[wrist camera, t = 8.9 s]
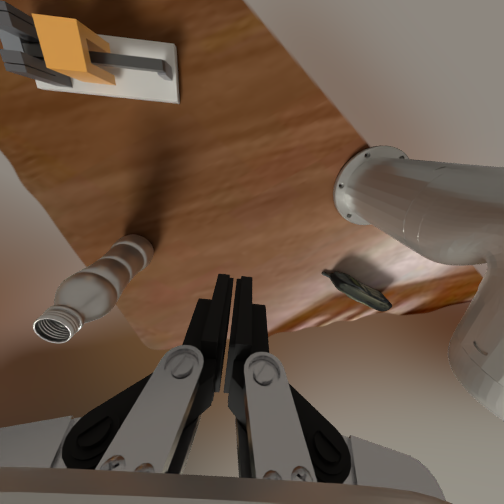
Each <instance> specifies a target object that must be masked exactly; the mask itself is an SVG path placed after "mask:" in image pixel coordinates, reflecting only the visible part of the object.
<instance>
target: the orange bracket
mask: <svg viewBox="0 0 504 504" xmlns="http://www.w3.org/2000/svg"><path fill="white" fill-rule="evenodd" d="M32 17H33V20H34V24H35V27H36V31H37V35H38V38H39V42H40V45H41V49H42V53H43V56H44V60H45V63H46V67H47V68H49V69H51V70H54V71H56V72H59V73H62V74H64V75H67V76H69V77H72V78H74V79H77V80H80V81H82V82H88V83H98V84H107V85H116V82H115V76H114V75H112V74H111V73H109V72H107V71H105V70H103V69H101V68H99V67H97V66H95V65H94V64H92V63H91V61H90V56H89V51H95V52H104V53H111V52H110V46H109V43H108V42H106V41H105V40H104V39H102V38H101V37H100V36H98V35H97V34H95V33H94V32H93V31H91V30H90V29H89V28H87V27H86V26H85V25H83V24H82V23H81V22H79V21H78V20H77V19H72V18H64V17H56V16H48V15H40V14H32Z"/></svg>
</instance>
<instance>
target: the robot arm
mask: <svg viewBox="0 0 504 504" xmlns="http://www.w3.org/2000/svg"><path fill="white" fill-rule="evenodd" d="M365 154H366V156H365ZM339 184H341V185H340V186H339ZM333 197H334V203H335V207H336V209H337V210H338V212H339V213H340V214H341V216H342V217H344V218H345V219H346V220H348V221H350V222H352V223H355V224H358V225H369V224H372V225H373V226H375V227H377V228H378V229H380V230H381V231H383V232H385V233H386V234H388V235H389V236H391V237H392V238H394V239H396V240H397V241H399V242H400V243H402V244H404V245H405V246H407V247H408V248H410V249H411V250H413V251H415V252H417V253H418V254H420V255H421V256H423V257H425V258H427V259H429V260H431V261H434V262H437V263H441V264H446V265H475V264H483V263H487V271H486V273H485V275H484V277H483V279H482V281H481V283H480V285H479V287H478V291H477V293H476V295H475V297H474V298H473V300H472V302H471V304H470V305H469V307H468V309H467V311H466V312H465V314H464V316H463V318H462V319H461V321H460V323H459V324H458V326H457V328H456V330H455V332H454V334H453V336H452V338H451V340H450V344H449V348H448V358H449V363H450V366H451V369H452V371H453V373H454V375H455V376H456V378H457V379H458V381H459V382H460V383H461V384H462V386H463V387H464V388H465V389H466V390H467V391H468V393H469V394H470V395H471V396H472V397H474V398H475V399H476V400H477V401H478V402H479V403H480V404H481V405H483V406H484V407H485V408H486V409H488V410H489V411H490V412H491V413H493V414H494V415H496V416H497V417H498V418H500V419H501V420H503V421H504V168H503V167H491V166H479V165H467V164H456V163H445V162H433V161H421V160H411V159H409V158H408V157H407V155H406V154H405V153H404V152H402V151H401V150H399V149H397V148H395V147H391V146H375V147H371V148H367V149H365V150H363V151H361V152H359V153H357V154H356V155H355V156H353V157H352V158H351V159H350V160H349V161H348V162H347V163H346V164H345V165H344V167H343V168H342V170H341V171H340V173H339V175H338V177H337V179H336V182H335V185H334V192H333ZM347 214H348V215H347ZM229 277H230V275H226V274H218V278H217V282H216V286H215V289H214V293H213V297H212V300H210V299H200V298H199V300H198V302H197V305H196V308H195V310H194V313H193V316H192V319H191V322H190V325H189V328H188V330H187V333H186V336H185V339H184V342H183V345H181V346H177V347H175V348H172V349H171V350H170V351H168V352H167V353H166V354H165V355H164V357H163V358H162V359H161V361H160V363H159V364H158V366H157V367H156V369H155V371H154V372H153V373H152V374H150V375H149V376H147V377H145V378H144V379H142V380H140V381H139V382H137V383H135V384H134V385H132V386H130V387H129V388H127V389H126V390H124V391H122V392H121V393H119V394H117V395H116V396H114V397H113V398H111V399H109V400H108V401H106V402H105V403H103V404H101V405H100V406H98V407H96V408H95V409H93V410H91V411H90V412H88V413H87V414H86V415H84V416H83V417H80V418H75V419H74V418H73V416H68V417H62V418H56V419H51V420H45V421H39V422H33V423H28V424H22V425H16V426H11V427H5V428H0V504H452V503H449V502H447V501H446V500H445V497H444V495H443V492H442V490H441V488H440V486H439V484H438V483H437V480H436V479H435V477H434V476H433V475H432V474H431V473H430V471H429V470H428V469H427V468H426V467H425V466H424V465H423V464H422V463H421V462H420V461H419V460H417V459H415V458H413V457H411V456H409V455H406V454H403V453H400V452H397V451H395V450H392V449H389V448H386V447H383V446H380V445H378V444H375V443H372V442H369V441H366V440H363V439H360V438H358V437H355V436H351V435H350V436H349V438H348V437H346V436H342V435H341V434H340V433H339V432H338V430H337V429H336V428H335V427H334V426H333V425H332V424H331V423H330V422H329V421H327V420H326V419H325V418H324V417H323V416H322V415H321V414H320V413H319V412H318V411H317V410H316V409H315V408H314V407H313V406H312V405H311V404H310V403H309V402H308V401H307V400H306V399H305V398H304V397H303V396H301V394H299V393H298V392H297V391H296V390H295V389H294V388H293V387H292V386H291V385H290V384H289V383H288V380H287V377H286V373H285V370H284V368H283V365H282V363H281V362H280V361H279V359H278V358H277V357H275V356H274V355H272V354H270V353H269V345H268V332H267V319H266V307H265V305H259V304H252V277H245V276H241V279H237V282H236V291H235V299H234V308H233V316H232V325H231V333H230V342H229V351H228V360H227V368H226V377H225V385H224V393H229V396H228V407H229V409H230V410H231V411H232V412H233V414H234V415H235V416H236V418H235V424H236V440H237V454H238V470H239V478H237V477H219V476H202V475H183V471H184V468H185V465H186V462H187V459H188V456H189V453H190V450H191V447H192V443H193V440H194V437H195V434H196V431H197V428H198V425H199V422H200V419H201V414H202V413H203V412H204V411H205V410H206V409H207V408H209V407H210V406H211V403H212V401H213V397H214V392H219V391H220V383H221V375H222V369H223V361H224V354H225V347H226V339H227V332H228V324H229V316H230V307H231V297H232V288H233V278H229Z"/></svg>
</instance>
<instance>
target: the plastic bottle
mask: <svg viewBox="0 0 504 504" xmlns="http://www.w3.org/2000/svg"><path fill="white" fill-rule="evenodd" d="M153 254H154V251H153V247H152V245H151V243H150V242H149V241H148V240H147V239H146V238H144V237H142V236H140V235H135V234H131V235H127V236H124V237H122V238H120V239H118V240H117V241H116V242H115V243H114V245H113V246H112V247H111V249H110V250H109V251H108V252H107V253H106V254H105V255H104V256H103V257H102V258H100V259H99V260H97V261H96V262H95V263H93V264H92V265H90V266H88V267H86V268H84V269H83V270H81V271H79V272H77V273H75V274H73V275H71V276H70V277H68V278H67V279H65V280H64V281H63V282H62V283H61V285H60V286H59V287H58V289H57V291H56V294H55V299H54V306H51V307H50V308H48V309H47V310H46V311H45V312H44V314H43V315H42V316H40V317H39V318H38V319H37V320H36V321H35V322H34V324H33V329H34V331H35V333H36V334H37V335H38V336H39V337H40V338H42V339H44V340H46V341H48V342H52V343H64V342H66V341H68V340H69V339H70V338H72V336H73V335H74V334H75V333H76V332H78V331H79V330H80V329H81V328H82V326H83V325H84V323H87V322H90V321H93V320H96V319H99V318H101V317H103V316H104V315H106V314H107V313H109V312H110V311H111V310H112V308H113V307H114V306H115V304H116V302H117V300H118V299H119V297H120V295H121V293H122V292H123V290H124V289H125V287H126V286H127V284H128V283H129V282H130V280H131V279H132V278H133V277H134V276H135V275H136V274H137V273H138V272H140V271H141V270H143V269H144V268H145V267H147V266H148V265H149V264H150V262H151V260H152V258H153Z"/></svg>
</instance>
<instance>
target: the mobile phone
mask: <svg viewBox="0 0 504 504" xmlns="http://www.w3.org/2000/svg"><path fill="white" fill-rule="evenodd" d="M322 275H324V276H327V277H329V278H330V279H331V281H332V283H333V284H334V286H335V287H336V288H337V289H338V290H339V291H341V292H343V293H345V294H346V295H347V296H348V297H349V298H351V299H353V300H355V301H357V302H360V303H363V304H365V305H367V306H369V307H371V308H373V309H376V310H378V311H387V310H389V309H390V308H391V307H392V304H391V303H390V302H389V301H388V300H387V299H386V298H385V296H384V295H383V294H382V293H381V292H379V291H377V290H375V289H373V288H370V287H368V286H366V285H364V284H362V283H360V282H359V281H357V280H355V279H354V278H353V277H351V276H349V275H347V274H345V273H340V272H334V273H333V274H327V273H325V272H322Z"/></svg>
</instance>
